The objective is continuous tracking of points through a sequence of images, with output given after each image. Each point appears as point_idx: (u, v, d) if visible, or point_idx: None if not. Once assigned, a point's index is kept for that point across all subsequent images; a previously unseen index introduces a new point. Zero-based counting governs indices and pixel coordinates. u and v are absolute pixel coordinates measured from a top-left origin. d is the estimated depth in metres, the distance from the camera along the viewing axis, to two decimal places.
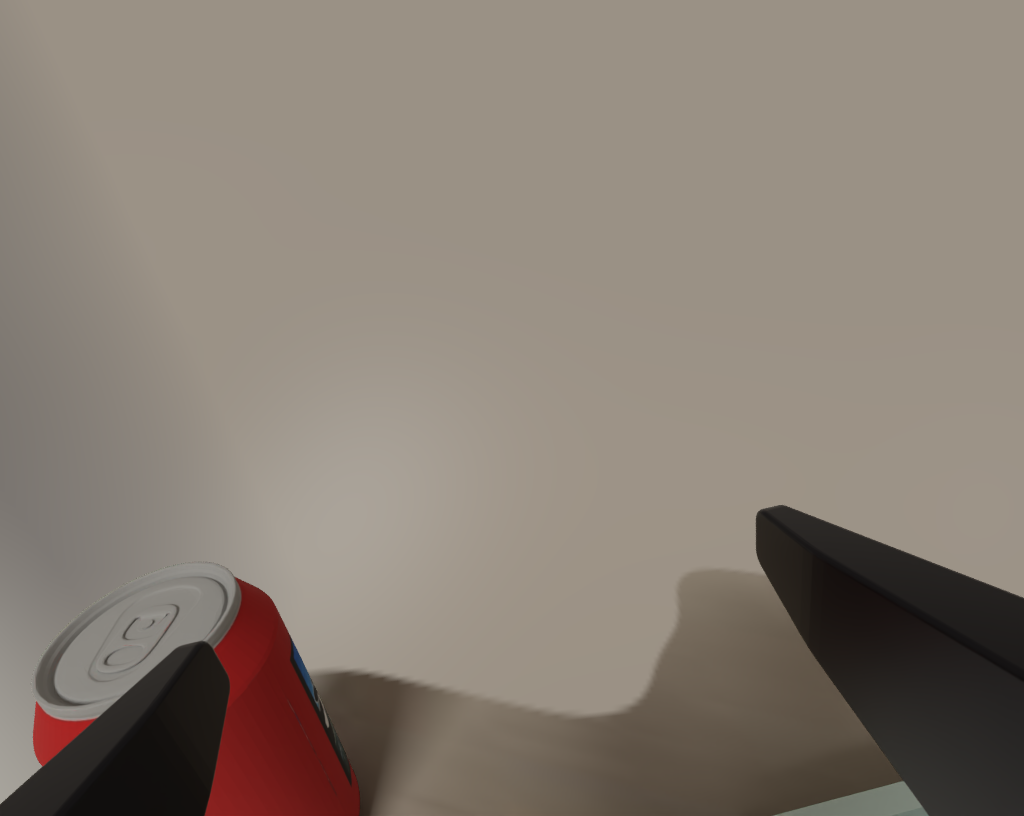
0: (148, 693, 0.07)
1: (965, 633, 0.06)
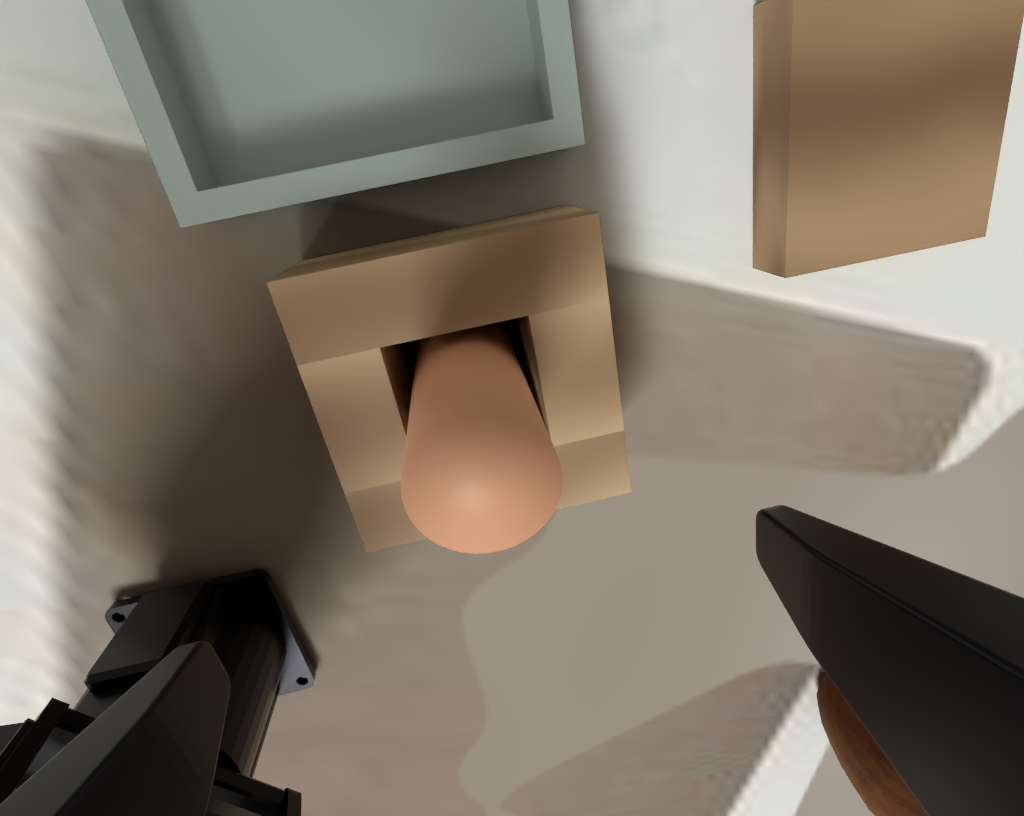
0: (148, 693, 0.07)
1: (965, 633, 0.06)
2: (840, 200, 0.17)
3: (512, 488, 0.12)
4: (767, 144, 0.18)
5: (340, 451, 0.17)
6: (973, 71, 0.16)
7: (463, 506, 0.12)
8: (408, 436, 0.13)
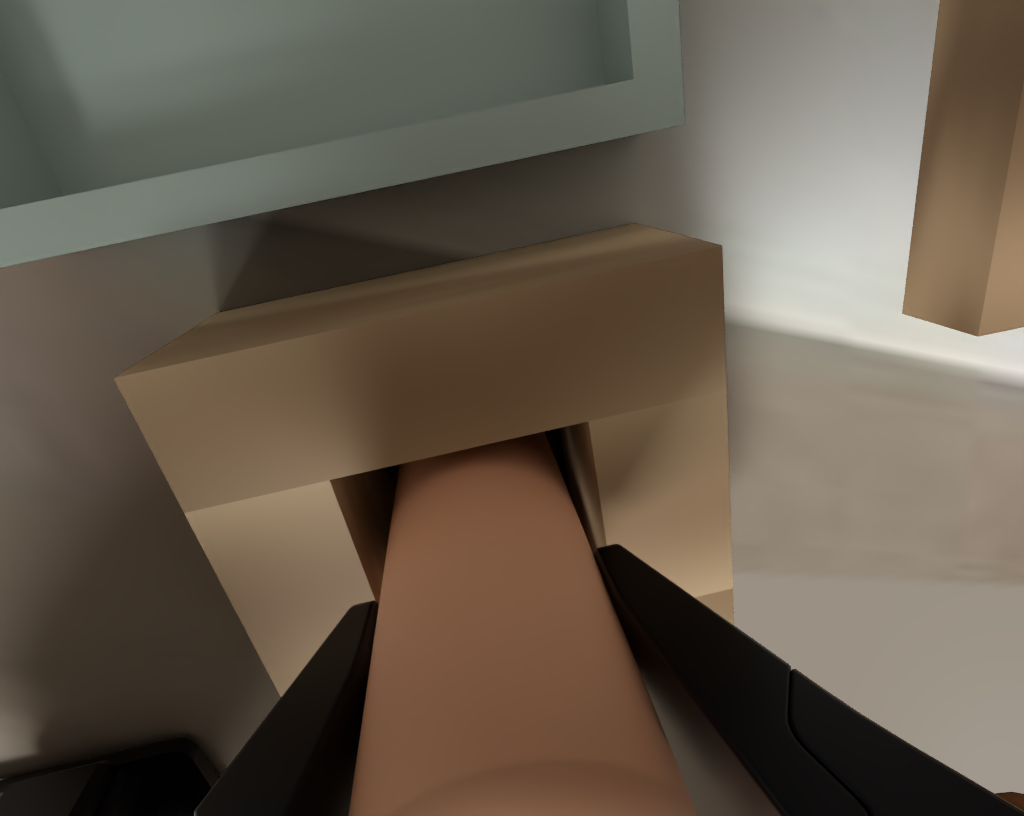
0: (346, 646, 0.07)
1: (707, 697, 0.05)
2: None
3: None
4: (959, 125, 0.11)
5: (270, 638, 0.10)
6: None
7: None
8: (364, 728, 0.06)
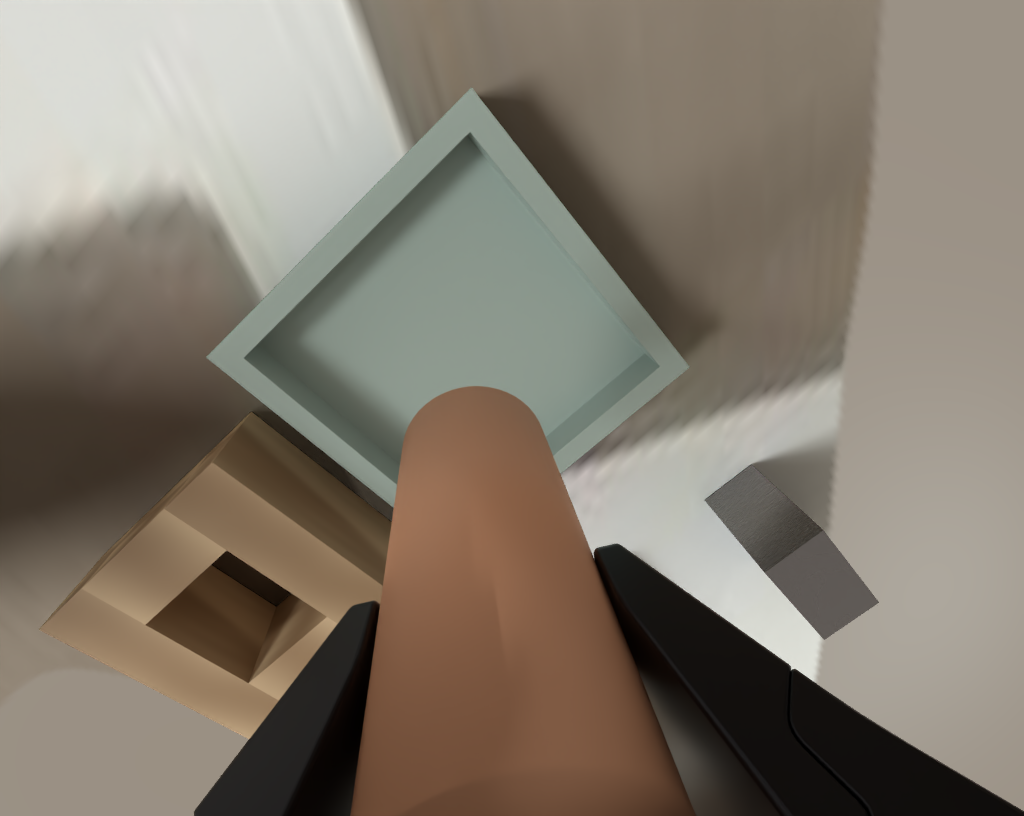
0: (346, 646, 0.07)
1: (707, 696, 0.05)
2: None
3: None
4: None
5: (117, 568, 0.18)
6: None
7: None
8: (365, 734, 0.06)
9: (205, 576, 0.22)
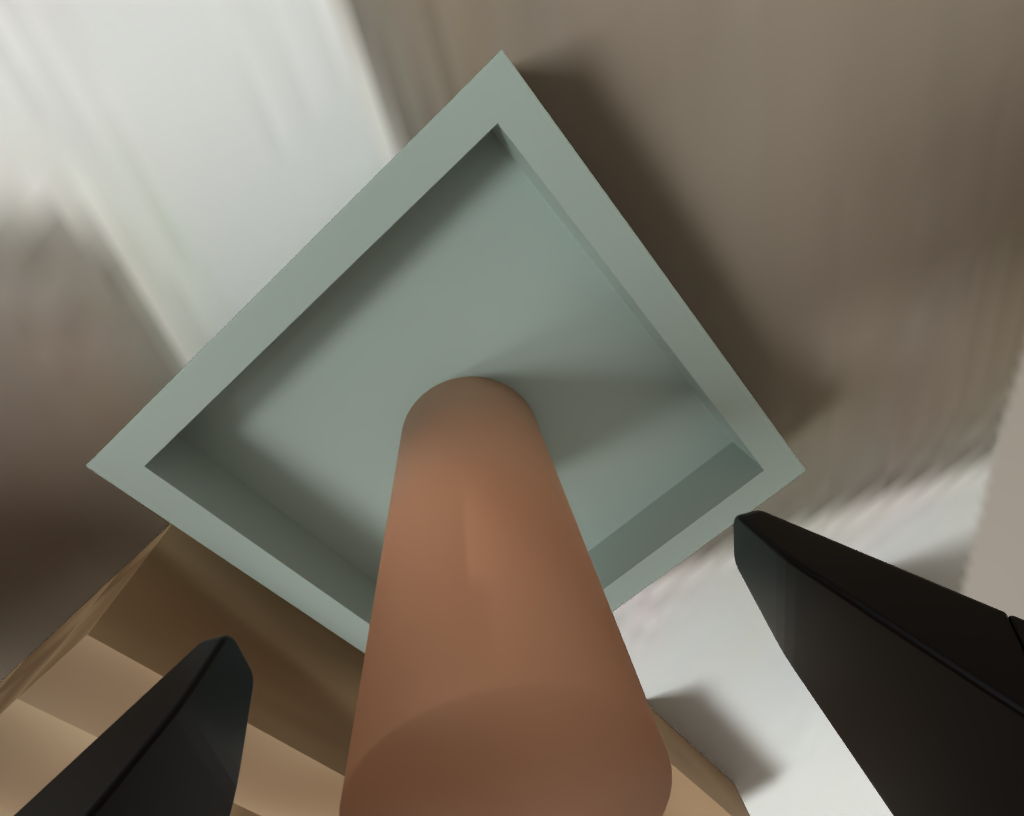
0: (176, 687, 0.07)
1: (929, 642, 0.06)
2: None
3: (569, 806, 0.06)
4: None
5: None
6: None
7: None
8: (364, 675, 0.07)
9: None
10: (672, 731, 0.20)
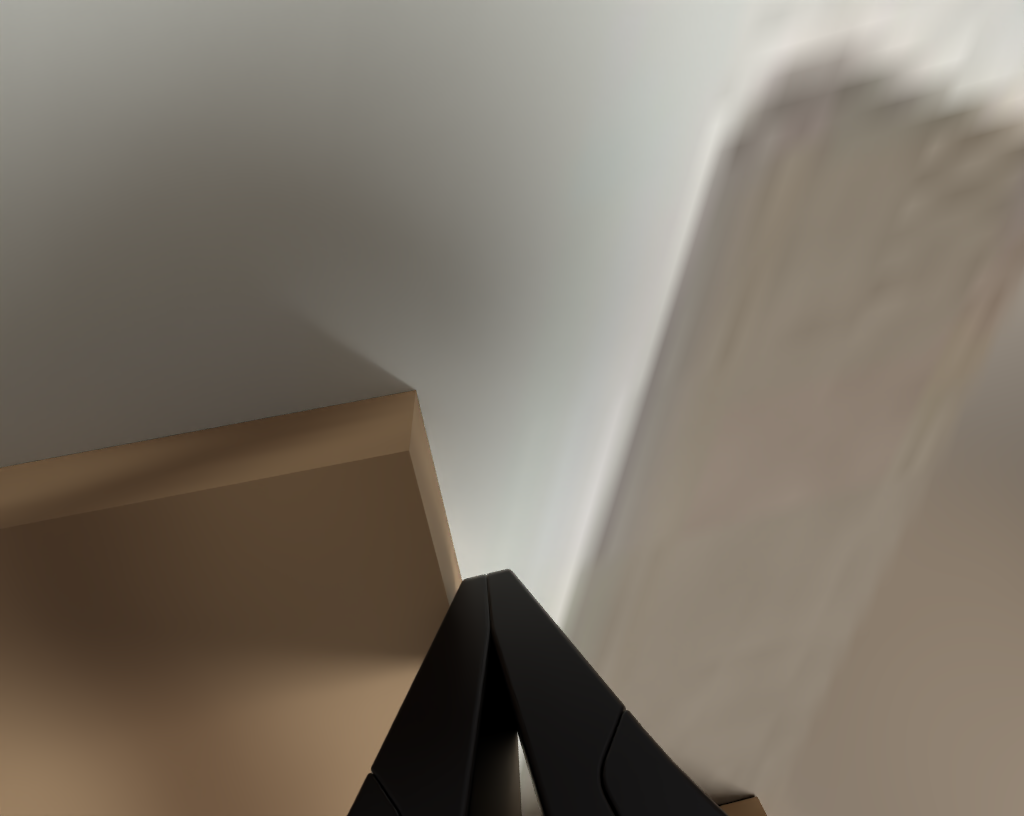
0: (472, 616, 0.07)
1: (536, 739, 0.05)
2: (353, 752, 0.09)
3: None
4: None
5: None
6: (59, 607, 0.07)
7: None
8: None
9: None
10: None
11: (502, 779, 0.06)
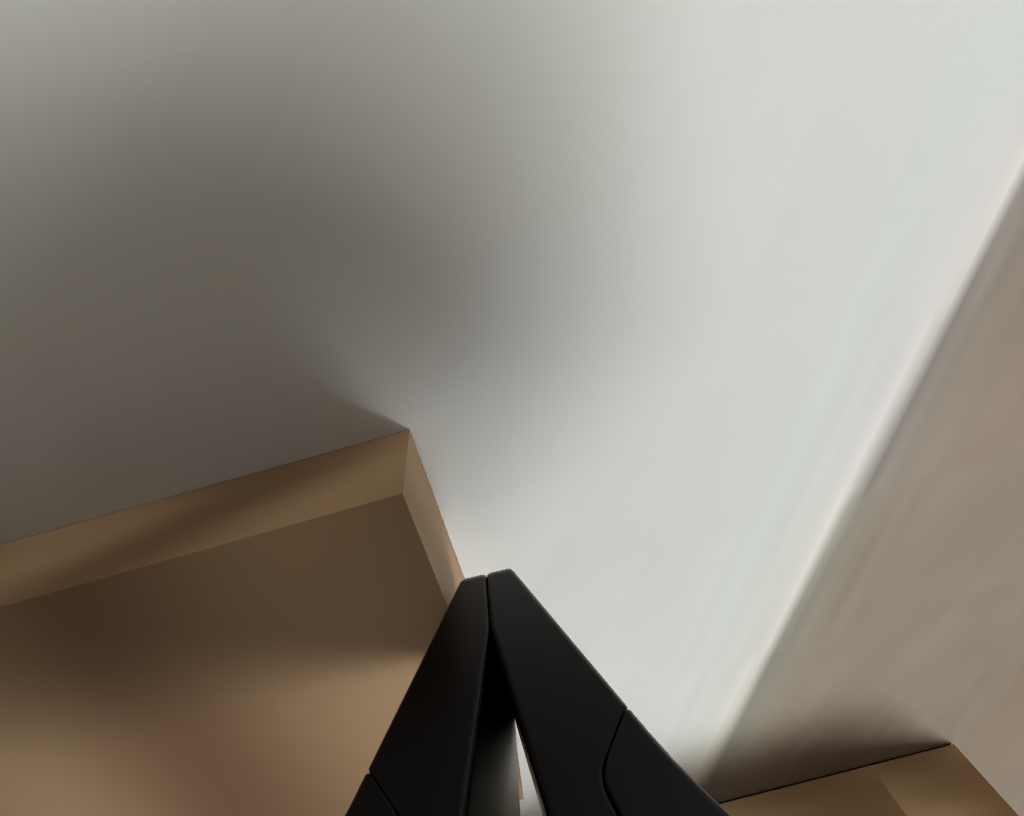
0: (471, 616, 0.07)
1: (538, 738, 0.05)
2: None
3: None
4: None
5: None
6: (93, 664, 0.08)
7: None
8: None
9: None
10: None
11: (500, 779, 0.06)
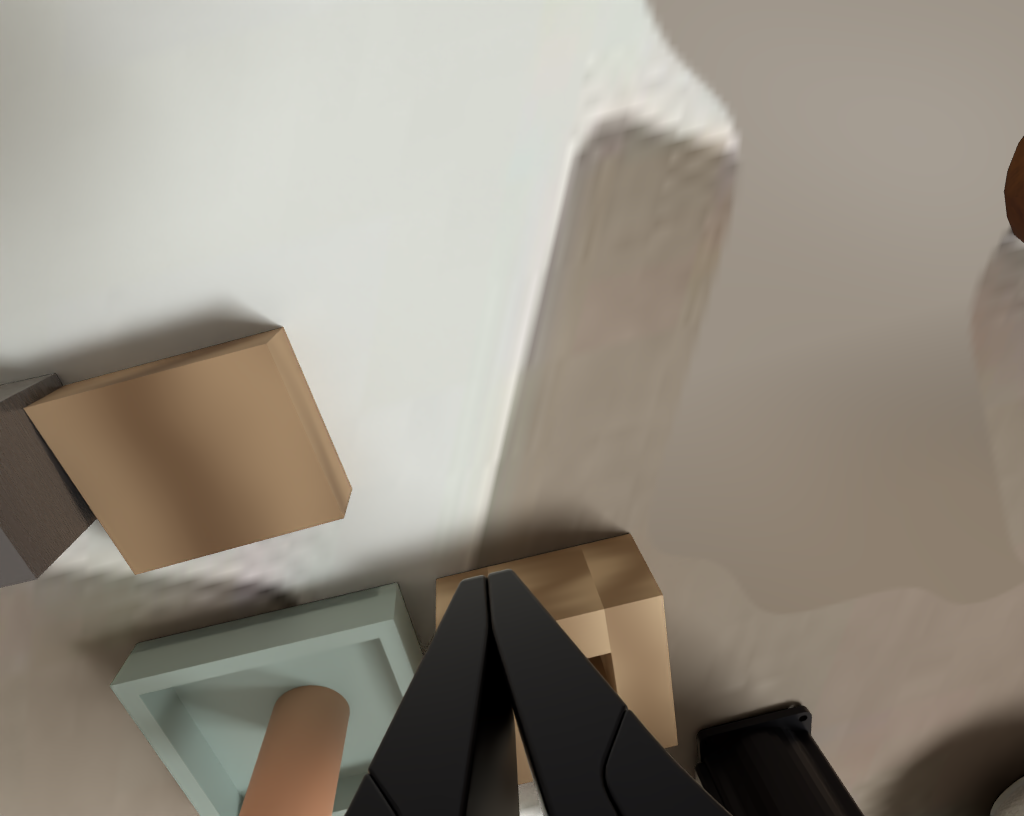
0: (471, 616, 0.07)
1: (538, 738, 0.05)
2: (269, 494, 0.20)
3: None
4: None
5: None
6: (134, 420, 0.18)
7: None
8: None
9: None
10: None
11: (500, 779, 0.06)
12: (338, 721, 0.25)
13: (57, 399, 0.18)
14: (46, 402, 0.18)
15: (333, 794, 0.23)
